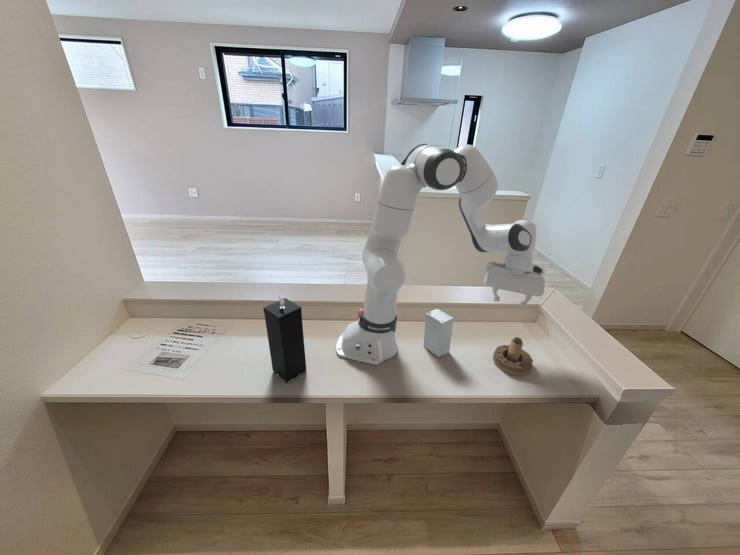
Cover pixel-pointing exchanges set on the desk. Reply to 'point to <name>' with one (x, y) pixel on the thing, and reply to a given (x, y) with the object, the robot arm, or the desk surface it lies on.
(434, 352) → the skincare box
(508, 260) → the robot arm
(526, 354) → the brown faceted ring
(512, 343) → the wooden peg
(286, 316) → the square furniture leg
